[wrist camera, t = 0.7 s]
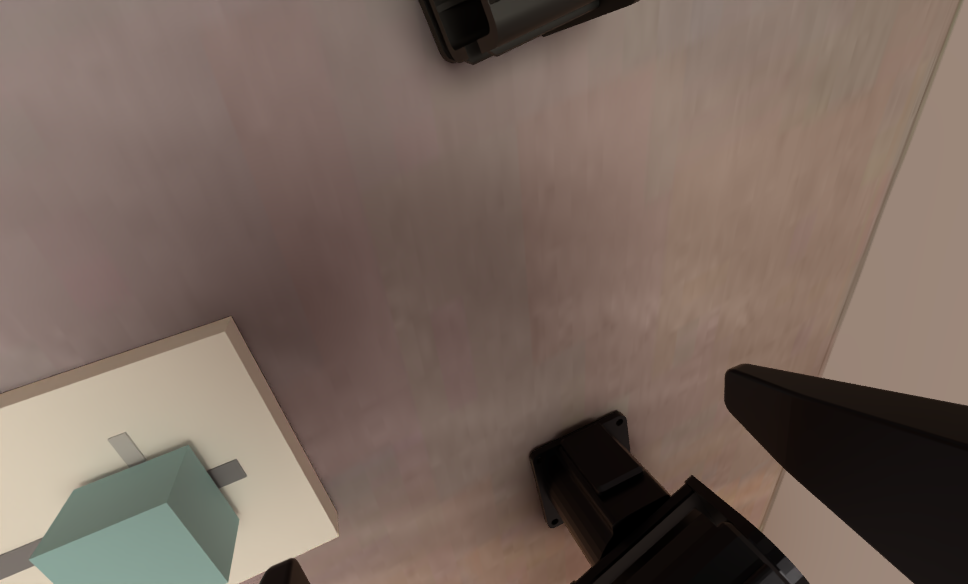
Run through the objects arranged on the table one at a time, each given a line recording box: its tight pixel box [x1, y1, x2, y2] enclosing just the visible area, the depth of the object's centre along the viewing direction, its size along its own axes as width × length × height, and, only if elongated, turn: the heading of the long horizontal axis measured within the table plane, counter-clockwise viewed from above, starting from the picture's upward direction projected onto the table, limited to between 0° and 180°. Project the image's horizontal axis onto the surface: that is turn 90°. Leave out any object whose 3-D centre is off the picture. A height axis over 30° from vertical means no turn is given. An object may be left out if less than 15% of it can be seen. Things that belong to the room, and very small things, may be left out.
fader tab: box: [29, 445, 240, 584], centre depth 17 cm, size 4×4×3 cm
